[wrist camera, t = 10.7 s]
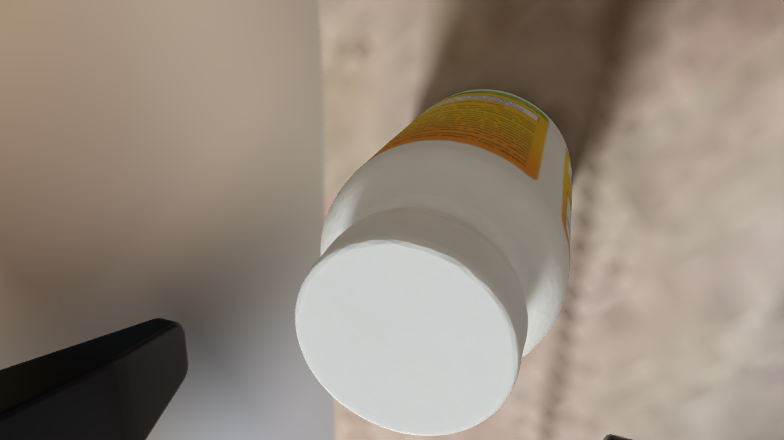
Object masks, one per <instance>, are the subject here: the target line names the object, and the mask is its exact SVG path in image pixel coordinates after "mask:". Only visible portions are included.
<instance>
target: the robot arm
mask: <svg viewBox="0 0 784 440" xmlns="http://www.w3.org/2000/svg"><path fill="white" fill-rule="evenodd" d="M187 370H188V356H187V347H186V337H185V330H184V327H183V326H182V324H180V323H178V322H175V321H171V320H167V319H163V318H155V319H152V320H149V321H146V322H143V323H140V324H137V325H134V326H131V327H128V328H125V329H122V330H119V331H116V332H113V333H110V334H107V335H104V336H101V337H98V338H95V339H92V340H89V341H86V342H83V343H80V344H77V345H74V346H71V347H68V348H65V349H62V350H59V351H56V352H53V353H50V354H47V355H44V356H41V357H38V358H35V359H32V360H29V361H26V362H23V363H20V364H17V365H14V366H11V367H8V368H5V369H2V370H0V440H146V438H147V437H148V435H149V434H150V432H151V430H152V429H153V427H154V426H155V424H156V423H157V421H158V420H159V418H160V417H161V415H162V413H163V412H164V410H165V409H166V407H167V406H168V404H169V403H170V401H171V399H172V398H173V396H174V395H175V393H176V392H177V390H178V389H179V387H180V385H181V384H182V382H183V381H184V379H185V376H186V374H187ZM604 440H632V439H628V438H624V437H620V436H616V435H612V434H609V435H607V436H606V437H605V438H604Z"/></svg>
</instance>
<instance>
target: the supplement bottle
mask: <svg viewBox="0 0 784 440" xmlns="http://www.w3.org/2000/svg"><path fill="white" fill-rule="evenodd" d="M571 206H572V167H571V160H570V155H569V152H568V148H567V145H566V143H565V141H564V138H563V136H562V134H561V133H560V131H559V129H558V128H557V127H556V125H555V124H554V123H553V121H552V120H551V119H550V118H549V117H548V116H547V115H546V114H545V113H544V112H543V111H542V110H540V109H539V108H538V107H536V106H535V105H533V104H532V103H530V102H529V101H527V100H525V99H523V98H521V97H519V96H516V95H514V94H511V93H507V92H504V91H499V90H491V89H476V90H469V91H464V92H460V93H456V94H454V95H451V96H449V97H447V98H444V99H443V100H441V101H439V102H437V103H436V104H434V105H432V106H431V107H430V108H428V109H427V110H426V111H424V112H423V113H422V114H421V115H420V116H418V117H417V118H416V119H415V120H414V121H413V122H412V123H411V124H409V125H408V126H407V127H406V128H405V129H404V130H403V131H402V132H400V133H399V134H398V135H397V136H396V137H395V138H393V139H392V140H391V141H390V142H389V143H387V145H385V146H384V147H383V148H382V149H381V150H380V151H379V152H377V153H376V154H375V155H374V156H373V157H372V158H371V159H370V160H368V161H367V162H366V163H365V164H364V165H363V166H361V167H360V168H359V169H358V170H357V171H356V172H355V173H354V174H353V175H352V177H351V178H350V179H349V180H348V181H347V182H346V183H345V185H344V186H343V187H342V189H341V190H340V192H339V193H338V195H337V197H336V198H335V200H334V202H333V204H332V206H331V207H330V209H329V212H328V214H327V217H326V219H325V223H324V227H323V232H322V238H321V257H320V258H319V259H318V260H317V262H316V263H315V264H314V265H313V267H312V268H311V269H310V271H309V272H308V273H307V276H306V277H305V279H304V281H303V283H302V286H301V288H300V291H299V294H298V299H297V302H296V311H295V323H296V332H297V338H298V341H299V345H300V347H301V350H302V353H303V355H304V358H305V360H306V362H307V364H308V366H309V368H310V369H311V371H312V372H313V374H314V375H315V377H316V378H317V380H318V381H319V382H320V383H321V384H322V385H323V387H324V388H325V389H326V390H327V391H328V392H329V393H330V394H331V395H332V396H333V397H334V398H335V399H336V400H337V401H338V402H339V403H341V404H342V405H343V406H345V407H346V408H347V409H349V410H350V411H352V412H353V413H355V414H357V415H358V416H360V417H362V418H363V419H365V420H367V421H369V422H372V423H374V424H376V425H378V426H381V427H383V428H386V429H389V430H393V431H396V432H399V433H405V434H411V435H420V436H438V435H447V434H452V433H456V432H460V431H463V430H466V429H469V428H471V427H473V426H475V425H477V424H479V423H481V422H482V421H484V420H486V419H487V418H488V417H489V416H491V415H492V414H493V413H494V412H496V411H497V410H498V409H499V408H500V406H501V405H502V404H503V403H504V402H505V400H506V399H507V397H508V396H509V394H510V392H511V390H512V389H513V387H514V384H515V382H516V380H517V376H518V373H519V369H520V364H521V359H522V357H524V356H525V355H527V354H528V353H529V352H530V351H531V350H532V349H533V348H534V347H536V346H537V345H538V344H539V342H540V341H541V340H542V339H543V338H544V337H545V336H546V335H547V333H548V332H549V330H550V329H551V327H552V326H553V324H554V323H555V321H556V319H557V317H558V315H559V313H560V311H561V308H562V305H563V302H564V299H565V295H566V290H567V285H568V278H569V270H570V235H571Z"/></svg>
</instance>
